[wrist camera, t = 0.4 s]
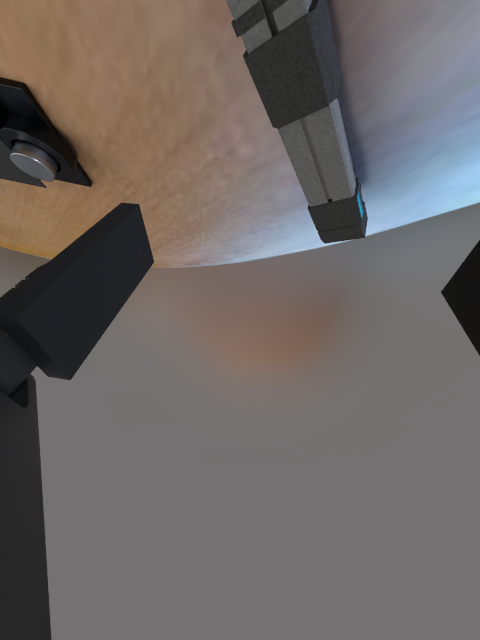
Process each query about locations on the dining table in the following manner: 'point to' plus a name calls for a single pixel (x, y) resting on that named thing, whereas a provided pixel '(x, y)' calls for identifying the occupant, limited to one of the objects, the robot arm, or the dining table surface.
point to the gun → (305, 104)
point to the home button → (34, 160)
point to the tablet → (36, 130)
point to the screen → (14, 169)
